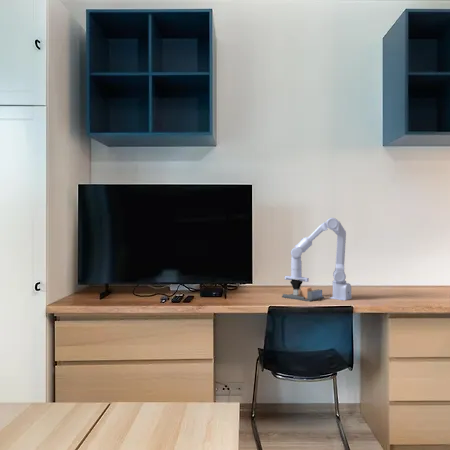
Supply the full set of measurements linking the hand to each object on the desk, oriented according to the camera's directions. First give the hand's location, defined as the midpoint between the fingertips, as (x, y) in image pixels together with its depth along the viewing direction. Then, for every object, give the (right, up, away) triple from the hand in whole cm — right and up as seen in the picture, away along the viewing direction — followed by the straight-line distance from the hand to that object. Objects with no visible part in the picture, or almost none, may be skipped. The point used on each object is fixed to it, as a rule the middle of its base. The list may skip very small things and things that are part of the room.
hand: (296, 293), depth 241 cm
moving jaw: (+2, -1, -2) cm, 3 cm away
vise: (+3, -2, -3) cm, 4 cm away
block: (+5, -1, -5) cm, 7 cm away
